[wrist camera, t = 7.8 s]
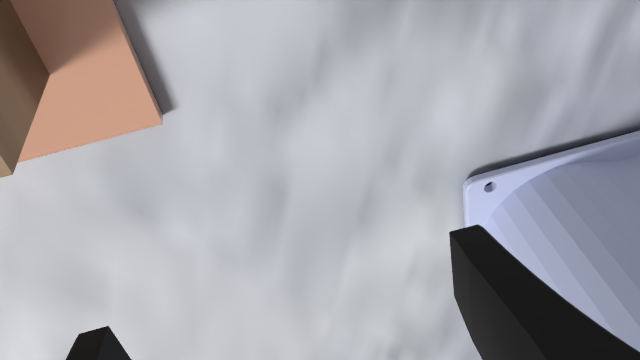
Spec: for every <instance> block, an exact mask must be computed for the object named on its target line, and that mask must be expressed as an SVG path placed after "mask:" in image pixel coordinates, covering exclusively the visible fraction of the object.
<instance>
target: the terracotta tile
mask: <svg viewBox="0 0 640 360" xmlns="http://www.w3.org/2000/svg"><path fill="white" fill-rule="evenodd" d="M10 1H11V3H12V5H13V7H14V9H15V11H16V13H17V14H18V16H19V18H20V20H21V22H22V24H23V26H24V27H25V29H26V31H27V33H28V35H29V37H30V39H31V41H32V42H33V44H34V46H35V48H36V50H37V52H38V54H39V56H40V57H41V59H42V61H43V63H44V65H45V67H46V69H47V71H48V72H49V74H50V76H49V79H48V82H47V84H46V87H45V90H44V92H43V95H42V98H41V100H40V103H39V106H38V108H37V111H36V114H35V116H34V119H33V122H32V124H31V127H30V130H29V132H28V135H27V138H26V140H25V143H24V146H23V148H22V151H21V154H20V156H19V159H18V162H22V161H26V160H29V159H33V158H37V157H40V156H44V155H48V154H52V153H55V152H59V151H63V150H67V149H70V148H74V147H78V146H82V145H85V144H89V143H93V142H97V141H100V140H104V139H108V138H112V137H115V136H119V135H123V134H127V133H130V132H134V131H138V130H141V129H145V128H149V127H153V126H156V125H160V124H162V121H163V116H162V113H161V111H160V109H159V106H158V104H157V102H156V99H155V97H154V95H153V92H152V90H151V88H150V85H149V83H148V81H147V78H146V76H145V74H144V71H143V69H142V67H141V64H140V62H139V60H138V57H137V55H136V53H135V50H134V48H133V46H132V43H131V41H130V39H129V36H128V34H127V32H126V29H125V27H124V25H123V22H122V20H121V18H120V15H119V13H118V11H117V8H116V6H115V4H114V1H113V0H10ZM18 162H17V163H18Z"/></svg>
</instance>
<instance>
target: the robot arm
mask: <svg viewBox="0 0 640 360" xmlns="http://www.w3.org/2000/svg"><path fill="white" fill-rule="evenodd" d="M489 182H492V183H491V184H490V185H488V186H485V185H486V184H487V183H489ZM463 200H464V219H465V228H462V229H459V230H455V231H451V232H449V234H450V247H451V260H452V273H453V286H454V296H455V299H456V301H457V304H458V306H459V309H460V312H461V314H462V317H463V319H464V322H465V324H466V326H467V329H468V331H469V334H470V336H471V338H472V341H473V343H474V344H475V346H476V348H477V350H478V352H479V354H480V356H481V358H482V359H483V360H640V131H636V132H633V133H629V134H625V135H622V136H618V137H614V138H611V139H607V140H603V141H600V142H596V143H592V144H589V145H585V146H581V147H578V148H574V149H570V150H567V151H563V152H559V153H556V154H552V155H548V156H545V157H541V158H537V159H534V160H530V161H526V162H523V163H519V164H515V165H512V166H508V167H504V168H501V169H497V170H493V171H490V172H486V173H483V174H479V175H475V176H473V177H470V178H469V179H468V180H466V182H465V183H464V185H463ZM66 360H131V359H130V357H129V356H128V354H127V353H126V351H125V350H124V348H123V347H122V345H121V344H120V342H119V341H118V339H117V338H116V336H115V335H114V334H113V332H112V331H111V329H110V328H109V326H106V327H103V328H99V329H96V330H92V331H88V332H85V333H81V334H79V335H78V337H77V338H76V340H75V342H74V344H73V346H72V348H71V350H70V352H69V354H68V356H67V358H66Z"/></svg>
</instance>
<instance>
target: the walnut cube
mask: <svg viewBox="0 0 640 360" xmlns="http://www.w3.org/2000/svg"><path fill="white" fill-rule="evenodd" d="M49 76H50V74H49V72H48V71H47V69H46V67H45V65H44V63H43V61H42V59H41V57H40V56H39V54H38V52H37V50H36V48H35V46H34V44H33V42H32V41H31V39H30V37H29V35H28V33H27V31H26V29H25V27H24V26H23V24H22V22H21V20H20V18H19V16H18V14H17V13H16V11H15V9H14V7H13V5H12V3H11V1H10V0H0V178H1V177H5V176H9V175H12V174H13V172H14V170H15V167H16V164H17V162H18V159H19V156H20V154H21V151H22V148H23V146H24V143H25V140H26V138H27V135H28V132H29V130H30V127H31V124H32V122H33V119H34V116H35V114H36V111H37V108H38V106H39V103H40V100H41V98H42V95H43V92H44V90H45V87H46V84H47V82H48V79H49Z"/></svg>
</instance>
